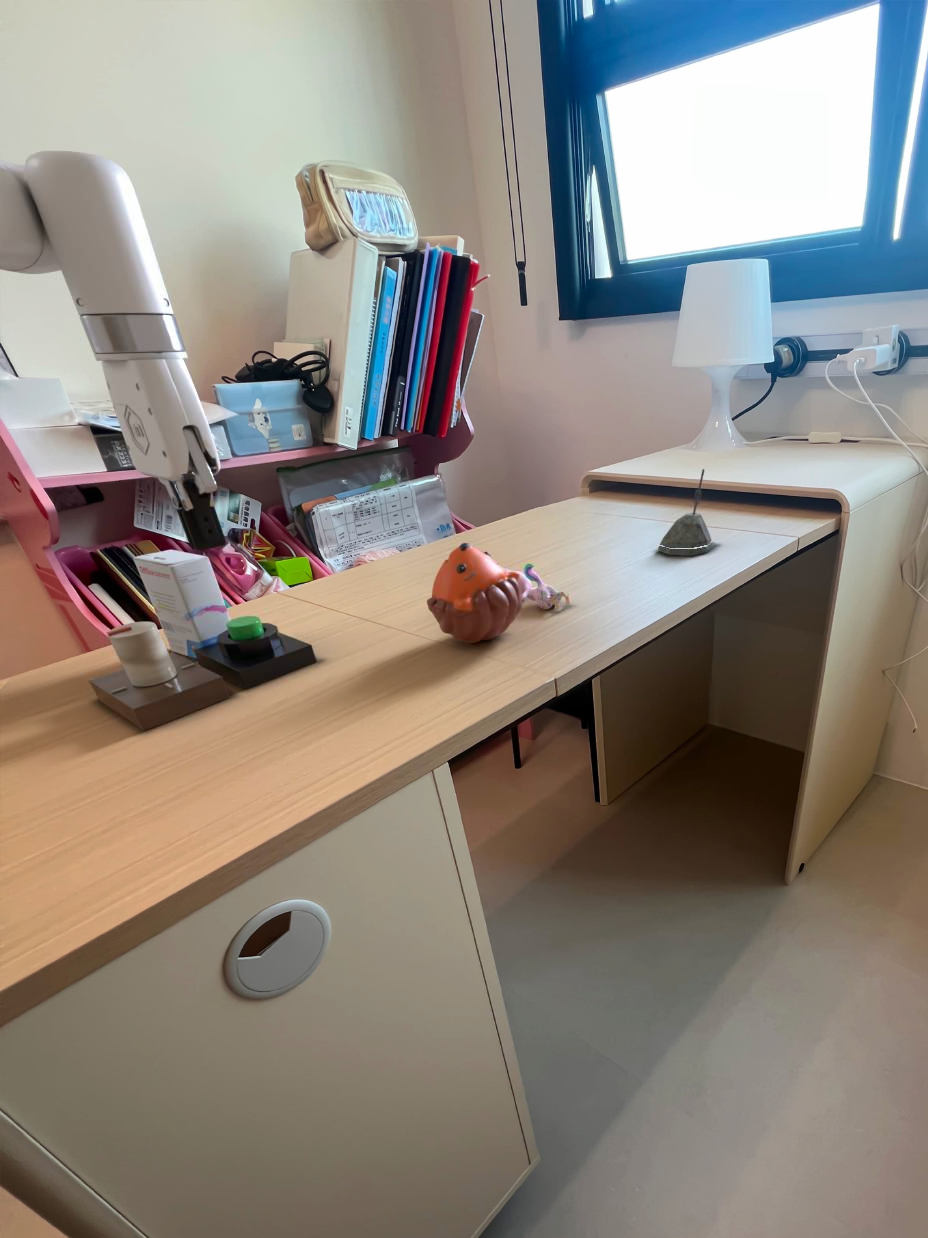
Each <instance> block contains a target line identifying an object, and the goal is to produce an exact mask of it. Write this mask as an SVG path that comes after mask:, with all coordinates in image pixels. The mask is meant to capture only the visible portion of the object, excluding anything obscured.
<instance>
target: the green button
mask: <svg viewBox="0 0 928 1238" xmlns="http://www.w3.org/2000/svg"><path fill="white" fill-rule="evenodd" d="M261 623H262V622H261V618H260V617H259V616H256V615H245V616H244V615H243V616H240V617H239V616H238V617H235V618H233V619H231V620H230V621H229V622H227V624H226V626H227V628H228V631H229V633H230V636H231V639H232V640H243V639H249V638H253V637H256V636H259V635H261V634H263V633H264V630H263V627H262V624H261Z"/></svg>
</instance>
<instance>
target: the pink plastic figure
mask: <svg viewBox="0 0 928 1238" xmlns="http://www.w3.org/2000/svg"><path fill="white" fill-rule="evenodd" d="M534 567H535V566H534V564H532V563H526V564H525V566H524V569H523V572H521V571H519V570H510V569H507V568H504V567H502V568H503V569H504V570H505V572H506V573H509V572H518V573H519V578H518V581H517V582H518V585H519V587H520V593H521V601H523V602H525V601H526V600H527V598H528V599H529V600H530V601H532V602H536V603H537V605H538V606H539V607H540V608H541V609H543V610H549V609H551V608H552V606H554V612H555V613H558V612H557V609H559V610H560V607H559V604H560V602H561V600H562V597H564V599H565V604H564V605H565V606H567V607H569V605H571V603H570V598H569V595H570V594H565V592H564V591H558V590H556V588H555V587H553V586H552V585H551V584H546V583H544V582H543V581H542V579H541V578H540V576H539V575H538V573H536V572H535V570H534V569H533V568H534ZM532 582H535V583H536V584H537V586H535V587H533V584H532ZM568 604H569V605H568Z"/></svg>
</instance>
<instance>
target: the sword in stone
mask: <svg viewBox="0 0 928 1238" xmlns="http://www.w3.org/2000/svg"><path fill="white" fill-rule="evenodd" d="M704 475H705V469H704V468H703V469H702V470H701V475H700V479H699V483H698V488H697V489H696V490H695V492H694V493H695V494H694V498H693V502H694V506H693V510H692V511H693V512H689V513H685V514H684V515H682V516H680V517H679V518H678V519H676V520H675V521H674V523H673V524H672V526H670V528H669V529H668V531H667V532H666V533H665V535H664V536H663V537H662V539H661V542H660V543H659V545H663V546H665V547H662V546H659V545H658V549H657V551H658V552H661V553H664V554H666V555H670V556H688V557H691V556H697V555H703V554H707V553H708V552H709V551H712V550H713V549H714V548H715V547H716V546H717V544H716V543H715V542H713V541H712V536H711V534H710V532H709V529H708V527H707V524H706V522H705V519H704V518H703V516H702V514H701V513H699V512H696V511H697V507H698V505H699V504H700V502H701V498H702V492H701V491H702V490H701V487H702V483H703V478H704ZM711 541H712V543H711V544H710V545H708V544H709V543H710V542H711ZM704 545H708V546H707V547H702V548H697V549H669V548H694V547H700V546H704ZM666 547H669V548H666Z"/></svg>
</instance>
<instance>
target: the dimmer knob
mask: <svg viewBox="0 0 928 1238" xmlns="http://www.w3.org/2000/svg"><path fill="white" fill-rule="evenodd" d="M106 635H107V637H108V639H109V642H110V644H111V646H112V648H113V649H114V651H115V654H116V655H117V658H118V659H119V661H120V663H121V666H122V669H124V670H125V672H126V674H127V676H128V678H129V680H130V682H131V684H132V685H134V686H138V687H145V686H152V685H157V684H161V683H164V682H166V681H168V680H170V679H172V678H174V677H175V676H176V675H177V671H176V669H175V666H174V664H173V662H172V660H171V657H170V655H169V654H170V653H169V651H168V648H167V647H166V643H165V642H164V639H163V637H162V636H161V632H160V631H159V629H158V626H157V623H155V622H153V621H136V622H135V621H134V622H129V623H126V624H122V625H119V626H116V627H114V628H112V629H110V630H109V631H107V632H106Z"/></svg>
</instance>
